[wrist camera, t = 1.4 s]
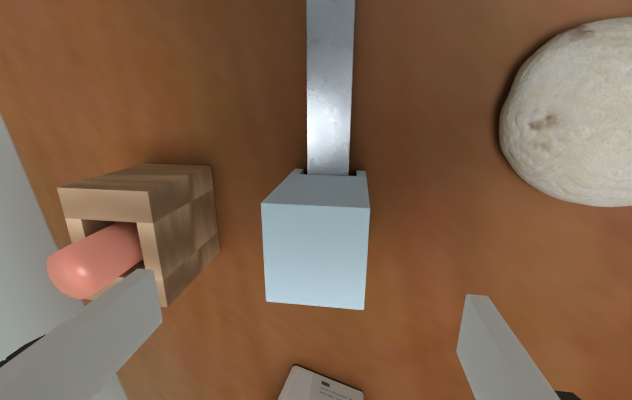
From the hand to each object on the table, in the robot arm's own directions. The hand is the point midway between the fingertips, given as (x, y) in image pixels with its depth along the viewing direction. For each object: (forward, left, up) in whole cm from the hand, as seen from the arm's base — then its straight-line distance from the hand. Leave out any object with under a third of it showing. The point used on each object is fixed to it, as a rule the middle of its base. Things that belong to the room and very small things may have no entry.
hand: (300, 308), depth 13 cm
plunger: (+1, -13, -10) cm, 16 cm away
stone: (-7, +18, -13) cm, 24 cm away
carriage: (0, 0, -13) cm, 13 cm away
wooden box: (+1, -13, -13) cm, 18 cm away
